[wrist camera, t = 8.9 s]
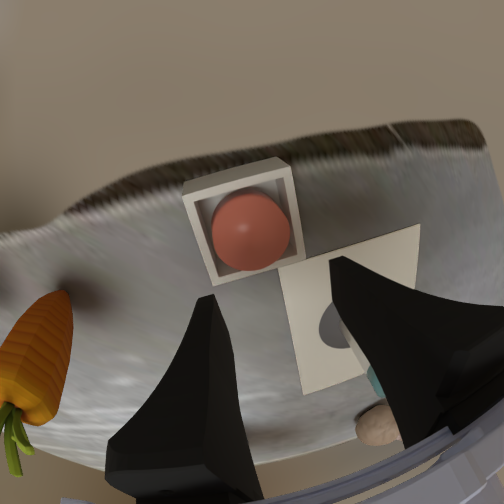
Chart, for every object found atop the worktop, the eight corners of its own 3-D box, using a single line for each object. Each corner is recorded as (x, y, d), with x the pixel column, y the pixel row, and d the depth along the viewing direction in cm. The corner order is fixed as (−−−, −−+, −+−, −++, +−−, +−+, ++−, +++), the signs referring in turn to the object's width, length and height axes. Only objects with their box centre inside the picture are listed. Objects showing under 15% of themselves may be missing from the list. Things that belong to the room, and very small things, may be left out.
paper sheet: (402, 355, 32) (402, 356, 31) (303, 394, 31) (303, 395, 31) (419, 223, 23) (420, 224, 23) (277, 267, 22) (278, 268, 22)
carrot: (43, 255, 18) (-53, 423, 5) (99, 280, 20) (40, 473, 7) (36, 302, 20) (-29, 457, 7) (86, 325, 22) (46, 493, 9)
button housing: (292, 238, 21) (306, 259, 19) (210, 262, 21) (213, 286, 18) (276, 156, 18) (290, 166, 16) (183, 181, 18) (181, 196, 15)
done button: (286, 243, 19) (295, 258, 17) (221, 262, 19) (224, 279, 17) (273, 181, 17) (282, 190, 15) (202, 200, 17) (203, 213, 15)
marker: (375, 325, 27) (415, 384, 20) (339, 339, 27) (374, 403, 20) (377, 295, 25) (424, 355, 18) (338, 309, 25) (379, 377, 18)
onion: (384, 412, 39) (404, 450, 32) (348, 427, 39) (366, 467, 32) (392, 392, 36) (416, 433, 29) (352, 408, 36) (373, 453, 29)
